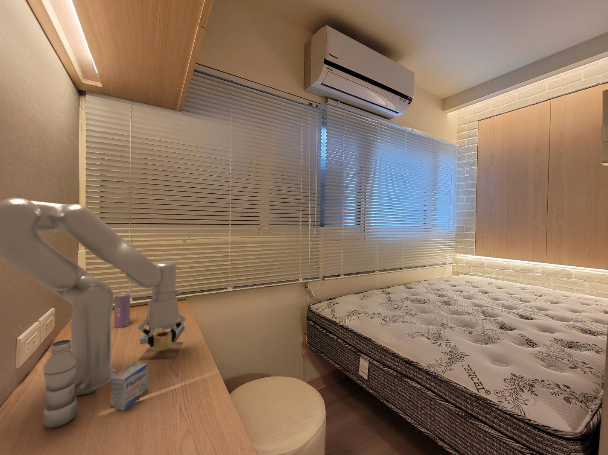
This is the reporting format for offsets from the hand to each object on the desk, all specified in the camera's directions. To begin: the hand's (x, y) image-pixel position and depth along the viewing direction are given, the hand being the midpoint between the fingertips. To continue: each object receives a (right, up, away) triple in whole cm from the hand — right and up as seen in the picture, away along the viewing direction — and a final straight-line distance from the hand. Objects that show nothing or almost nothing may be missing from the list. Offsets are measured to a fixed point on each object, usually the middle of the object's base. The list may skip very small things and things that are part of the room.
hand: (162, 342), depth 96 cm
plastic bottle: (-8, -6, -32) cm, 33 cm away
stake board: (-1, -5, +2) cm, 6 cm away
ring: (-1, -1, +2) cm, 2 cm away
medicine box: (+4, -6, -23) cm, 24 cm away
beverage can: (-33, -4, +26) cm, 42 cm away
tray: (-8, -4, +15) cm, 18 cm away
